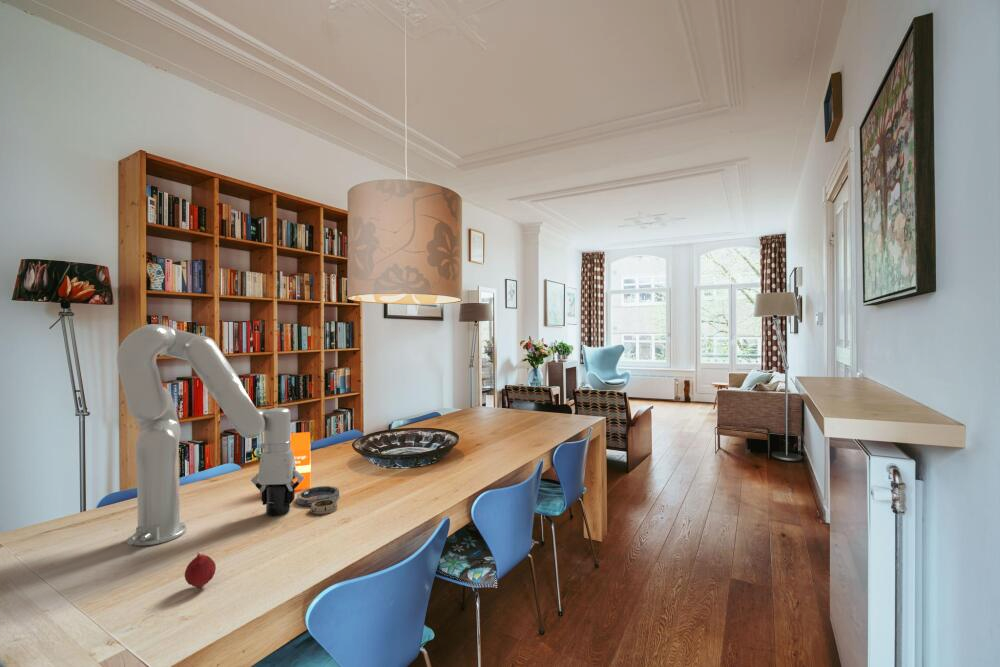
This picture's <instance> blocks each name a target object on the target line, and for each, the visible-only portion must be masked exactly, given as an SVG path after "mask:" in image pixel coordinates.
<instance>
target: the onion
mask: <svg viewBox="0 0 1000 667" xmlns="http://www.w3.org/2000/svg"><path fill="white" fill-rule="evenodd" d="M216 567H217V566H216V563H215V561H214V560H213V558H211V557H210V556H209V555H206V554H203V553H202V552H201V551H198V552H197V554H196V556H195V558H193V559H192V560H191V561H190V562H189V563H188V564H187V566H186V569H185V570H184V571H185V572H184V579H185V581H186V582H187V584H188V585H191V586H192V587H194V588H197V589H201V588H203V587H204V586H205V585H207V584H208V583H209V582H210V581H211V580H212V579H213V578H214V577H215V576H214V575H215V573H216Z"/></svg>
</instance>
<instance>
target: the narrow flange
mask: <svg viewBox="0 0 1000 667" xmlns="http://www.w3.org/2000/svg"><path fill="white" fill-rule="evenodd" d="M337 510H338V501H337V500H334V499H323V500H318V501H315V502H313V503H312V505H311V507H310V513H311V514H312V515H314V516H315V515H316V516H324V515H325V516H326V515H328V514H329V515H330V514H333V513H335V512H336V511H337Z"/></svg>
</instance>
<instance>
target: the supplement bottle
mask: <svg viewBox="0 0 1000 667" xmlns="http://www.w3.org/2000/svg"><path fill="white" fill-rule="evenodd" d="M288 491H289V489H288V487H287V486H286V484H285V485H268V486H267V488H266V504H265V513H266V515H267V516H268V517H280V516H284V515H287V514H288V513H289V511H290V510H291V509H290V508H291V503H290V504H287V492H288Z"/></svg>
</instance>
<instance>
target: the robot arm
mask: <svg viewBox="0 0 1000 667" xmlns="http://www.w3.org/2000/svg"><path fill="white" fill-rule="evenodd" d="M159 355H163V356H167V357H171V358H176V359H180V360H184V361H187V362H188V363H189V365H190V366H191V367H192V369H193V370H194V371H195V374H196V375H197V376H198V377H199V379H200V380H201V382H202V383H203V385H204V386H205V387H206V389H207V390H208V392H209V394H210V395H211V397H212V398H213V399H214V400H215V401H216V403H217V405H218V406H219V408H221V410H222V411H223V413H224V415H225V416H226V417H227V419H228V421H230V423H231V425H232V426H233V428H234V429H235V431H236V432H237V433H238V435H239V436H241V437H243V438H247V439H254V438H257V437H258V436H260V435H261V434H262V433H263V432H264V438H263V439H264V442H263V443H261V444H259V448H260V449H263V451H262V452H261V453H260V454H261V455H260V460H259V465H258V473H257V474H256V475H255V476H254V477H252V478H251V479H250V481H251V482H252V484H253V485H255V487H256V488H257V489H258V490H259V492H260V493H261V494H260V495H261V502H262V506H266V488H267V486H268V485H285V484H286V486H287V487H288V489H289V491H288V492H287V504H290V505H291V503H292V502H294V501H295V497H296V496H295V494H296V493H295V491H296V490H294V489H295V488H296V487H297V486H298V485H299V484H300V483H301V482H302V480H303V479H304V476H303V475H302V474H300V473H299V472H298V471H297V470H296V466H295V458H294V453H293V450H291V429H292V428H291V420H292V419H291V418H292V417H291V410H290V409H289V408H287V407H273V408H272V407H271V408H269V409H267V408H266V409H264V408H263V409H261V408H259V409H258V408H257V407H256V406H255V403H253V401H252V400H251V398H250V396H249V395H248V394H247V392H246V389H245V388H244V385H243V383H242V381H241V379H240V377H239V376H238V373H237V372H236V371H235V370H234V368H233V367H232V366H231V364H230V362H228V359H227V358H226V357H225V354H223V352H222V351H221V349H220V348H219V346H218V345H217V342H216V341H215V340H214V339H213V338H211V337H209V336H206V335H201V334H196V333H192V332H188V331H184V330H181V329H178V328H174V327H170V326H168V325H162V324H158V323H151V324H145V325H142V326H140V327H138V328H137V329H135V330H133V331H132V332H131V333H129V335H127V336H126V337H124V339H123V341H121V343H120V345H119V347H118V350H117V354H116V363H117V364H116V366H117V369H118V373H119V377H120V381H121V385H122V389H123V394H124V398H125V401H126V406H127V411H128V414H129V415H130V416H131V417H132V418H134V419H135V420H136V421H137V424H138V428H139V431H140V434H139V435H138V437H137V439H136V442H135V448H134V449H135V450H134V451H135V463H136V485H137V489H136V490H137V492H136V493H137V496H136V497H137V526H136V527H135V532H134V533H133V534H132V535H131V536H129V537H128V538H127V539H126V544H128V545H134V546H142V547H143V546H152V545H158V544H162V543H166V542H169V541H172V540H174V539H177V538H179V537H181V536H182V535H183V534H184V533H186V531H187V525H186V524H185V523H182V522H180V521H181V520H180V518H181V517H180V516H181V515H180V513H181V512H180V510H181V509H180V506H181V505H180V503H181V502H180V455H179V454H180V452H179V451H180V450H179V448H180V440H181V436H182V428H181V425H180V422H179V421H180V420H179V417H178V414H177V410H176V407H175V403H174V399H173V397H172V394H171V392H170V391H169V390H168V389H167V388H166V387H164V386H163V382H162V380H161V375H160V371H159V368H158V365H157V364H158V363H157V357H158V356H159ZM295 478H297V479H298V480H297V481H296V482H295V483H294V481H293V480H294V479H295Z"/></svg>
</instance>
